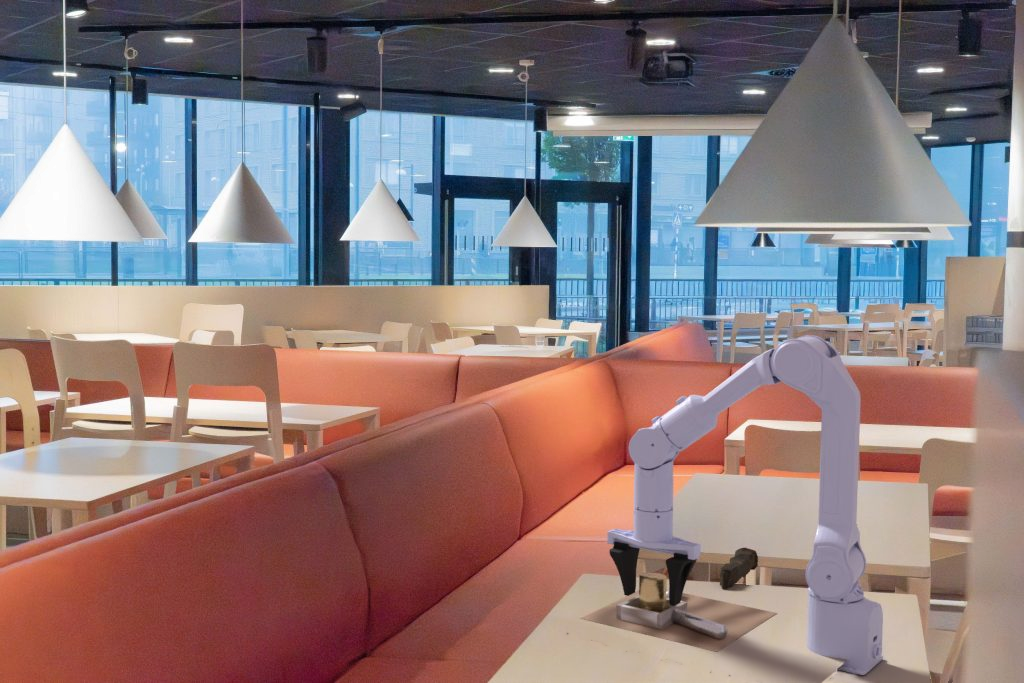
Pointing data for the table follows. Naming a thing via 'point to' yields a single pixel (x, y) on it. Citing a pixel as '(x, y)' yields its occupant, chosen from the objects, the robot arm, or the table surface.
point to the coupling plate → (661, 625)
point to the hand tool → (738, 567)
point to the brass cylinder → (652, 592)
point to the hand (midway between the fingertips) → (652, 598)
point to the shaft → (699, 624)
